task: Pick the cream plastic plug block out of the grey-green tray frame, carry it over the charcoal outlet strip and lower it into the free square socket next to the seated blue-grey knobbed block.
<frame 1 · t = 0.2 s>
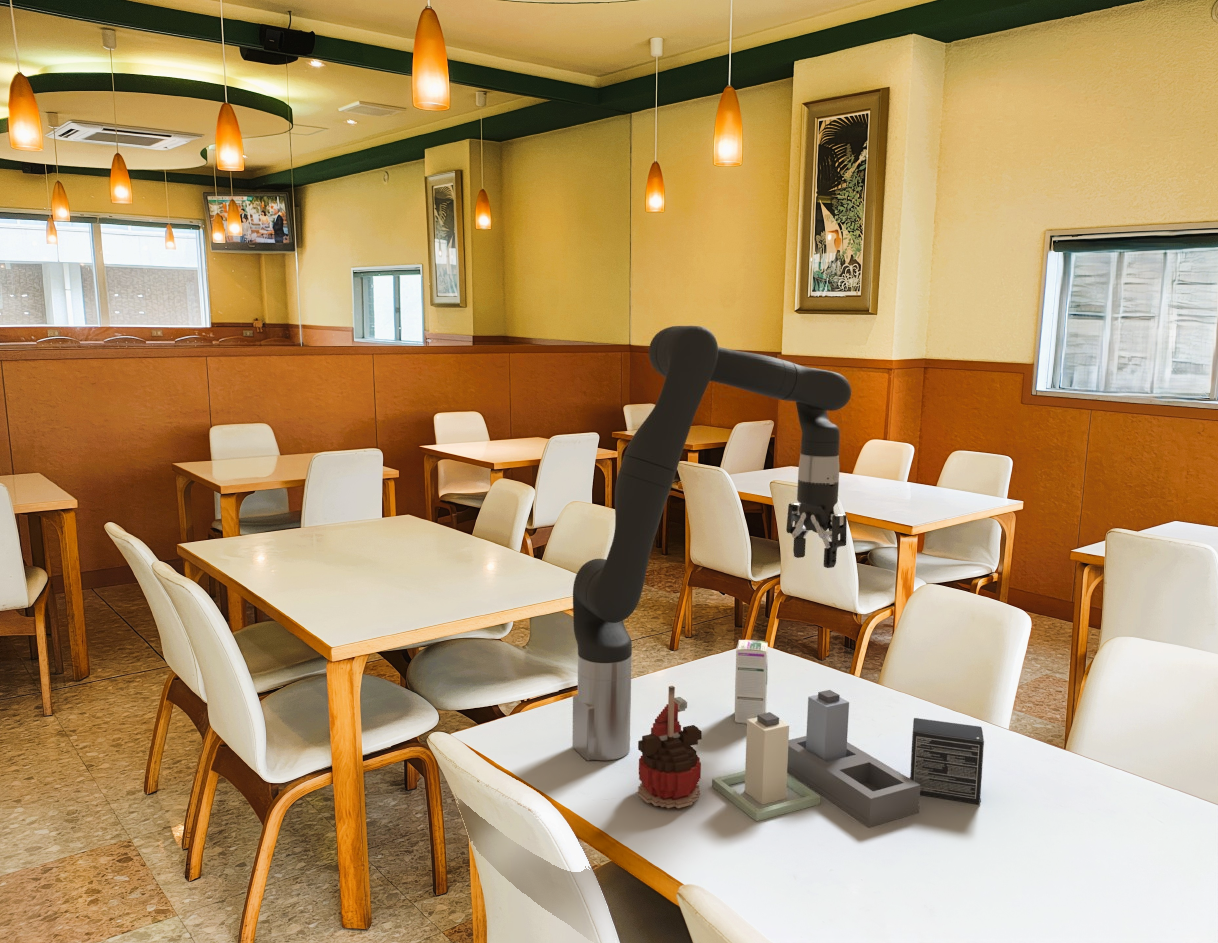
hand: (813, 562, 173), 29 cm above the table, fingers open, 8 cm apart
syrup box: (750, 719, 171), on the table
plug: (766, 755, 141), in the tray frame
tray frame: (765, 794, 142), on the table
blue-grey knobbed block: (825, 768, 149), resting on outlet strip
cake: (668, 797, 141), on the table
small box: (943, 791, 145), on the table
outlet strip: (846, 788, 145), on the table
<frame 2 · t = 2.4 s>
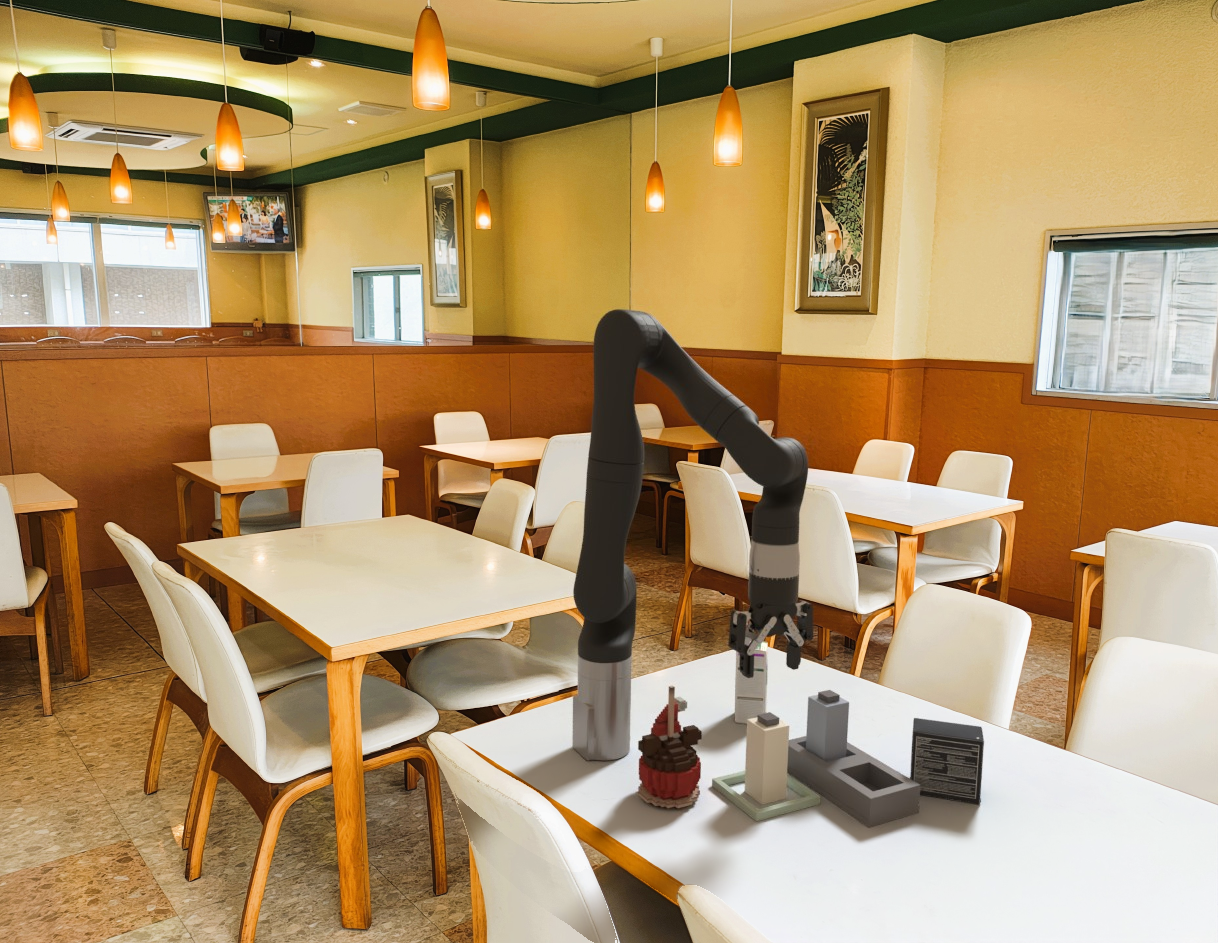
hand: (770, 672, 139), 20 cm above the table, fingers open, 8 cm apart
nothing on the table moved.
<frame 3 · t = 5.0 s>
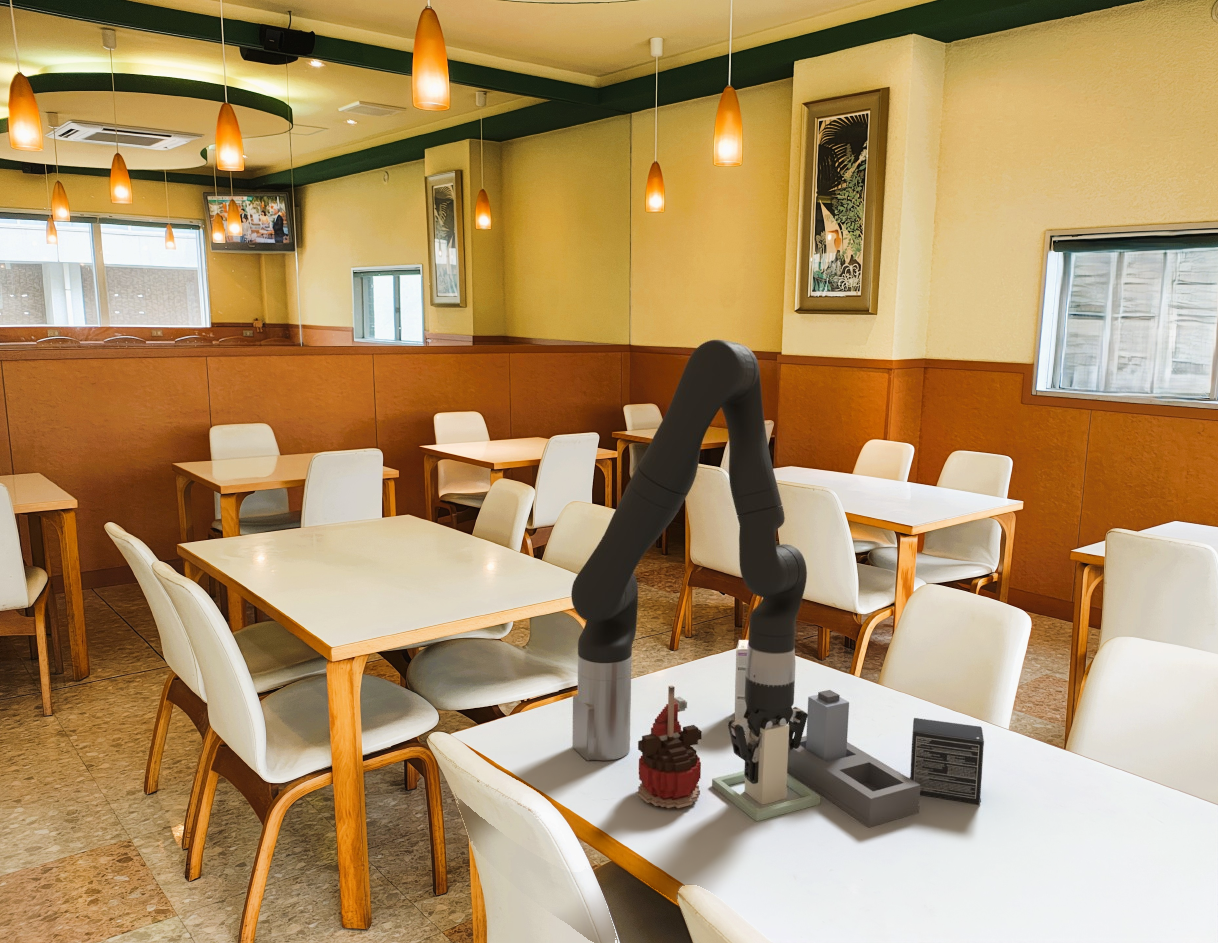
hand: (765, 777, 142), 3 cm above the table, fingers closed on plug, 4 cm apart
plug: (766, 755, 141), in the tray frame, touching gripper
everything else where it was.
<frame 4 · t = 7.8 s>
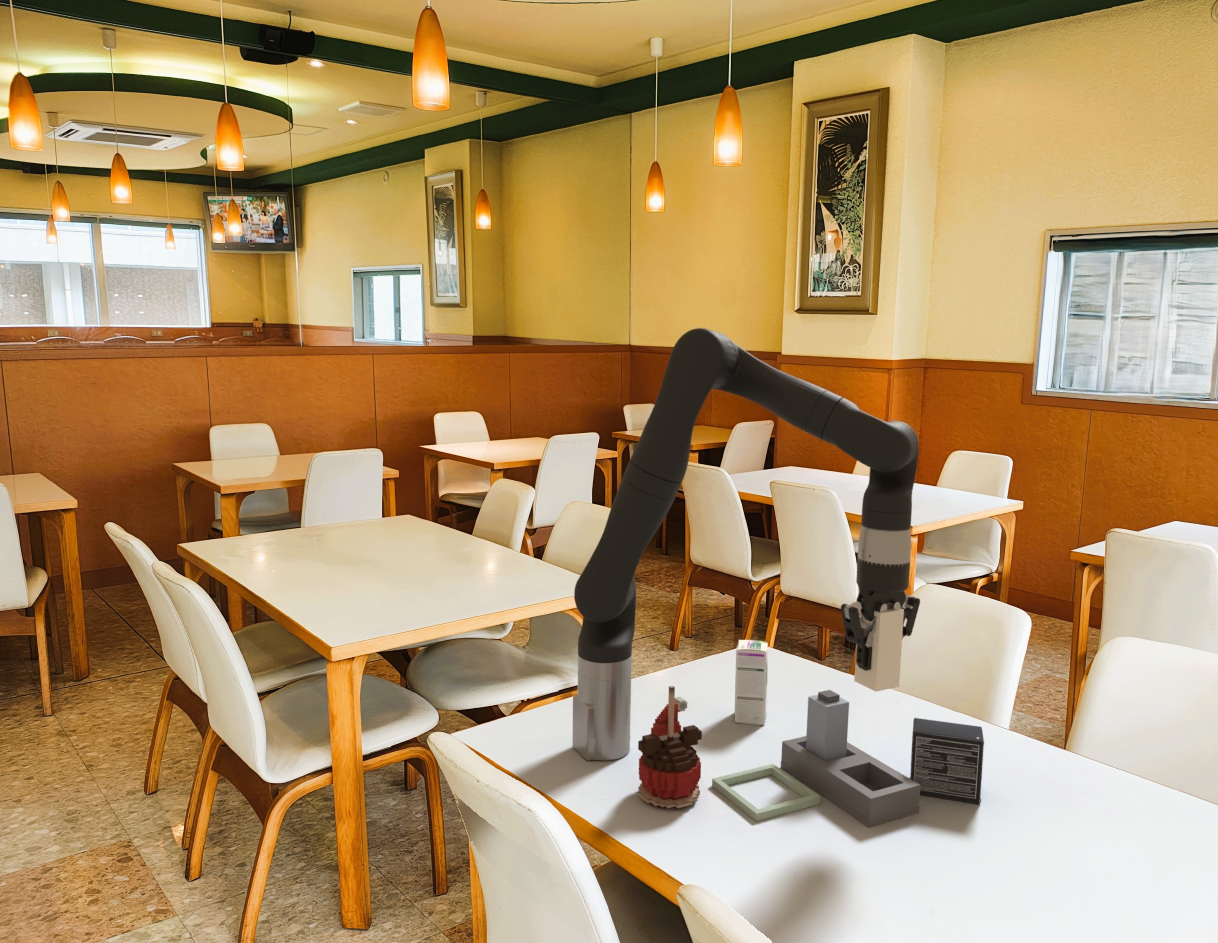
hand: (877, 665, 137), 22 cm above the table, fingers closed on plug, 4 cm apart
plug: (878, 642, 136), point 26 cm above the table, touching gripper
everything else where it was.
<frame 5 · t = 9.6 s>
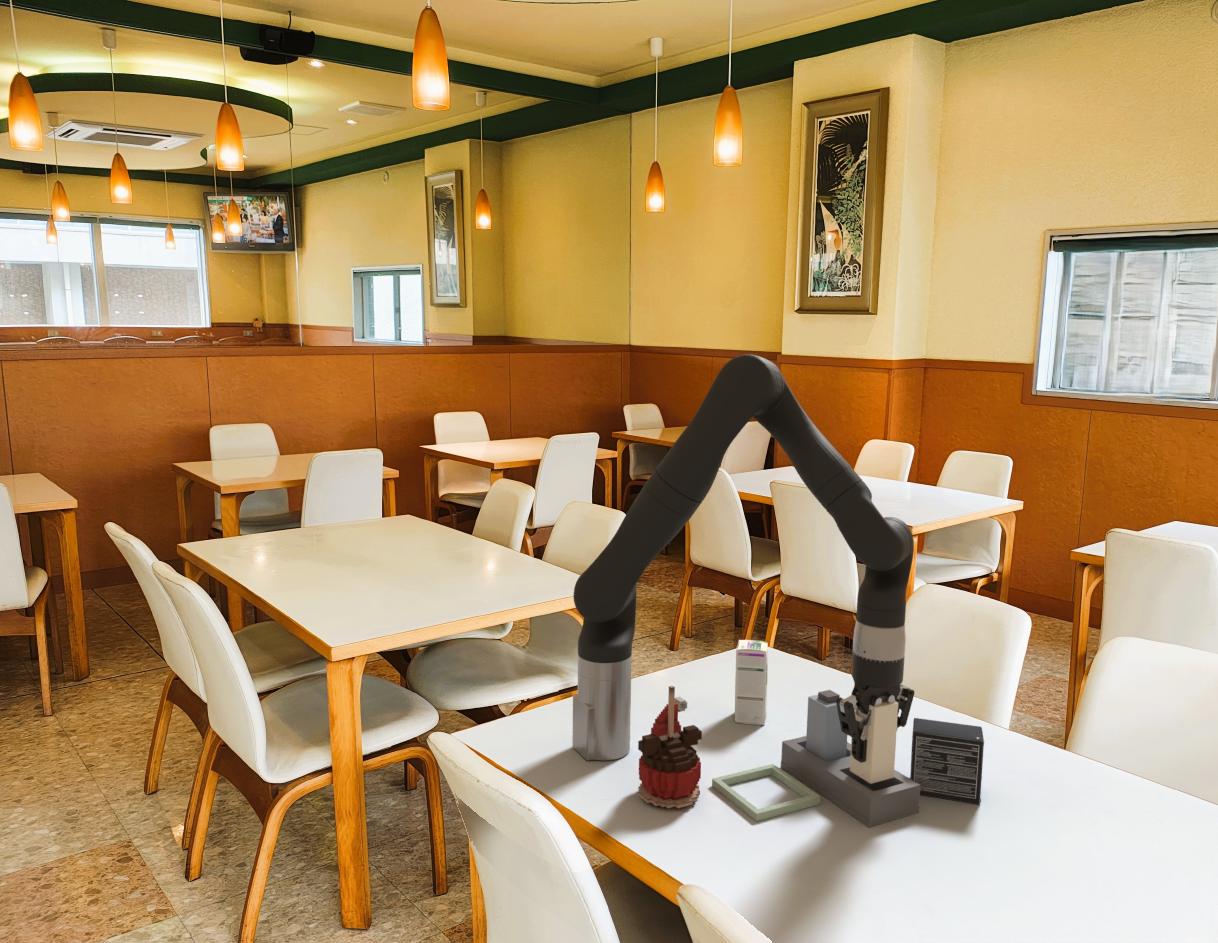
hand: (872, 756, 139), 8 cm above the table, fingers closed on plug, 4 cm apart
plug: (873, 734, 138), point 11 cm above the table, touching gripper
everything else where it was.
when the fingers open (5 cm above the table, at t = 10.8 s): plug drops 1 cm, resting on outlet strip.
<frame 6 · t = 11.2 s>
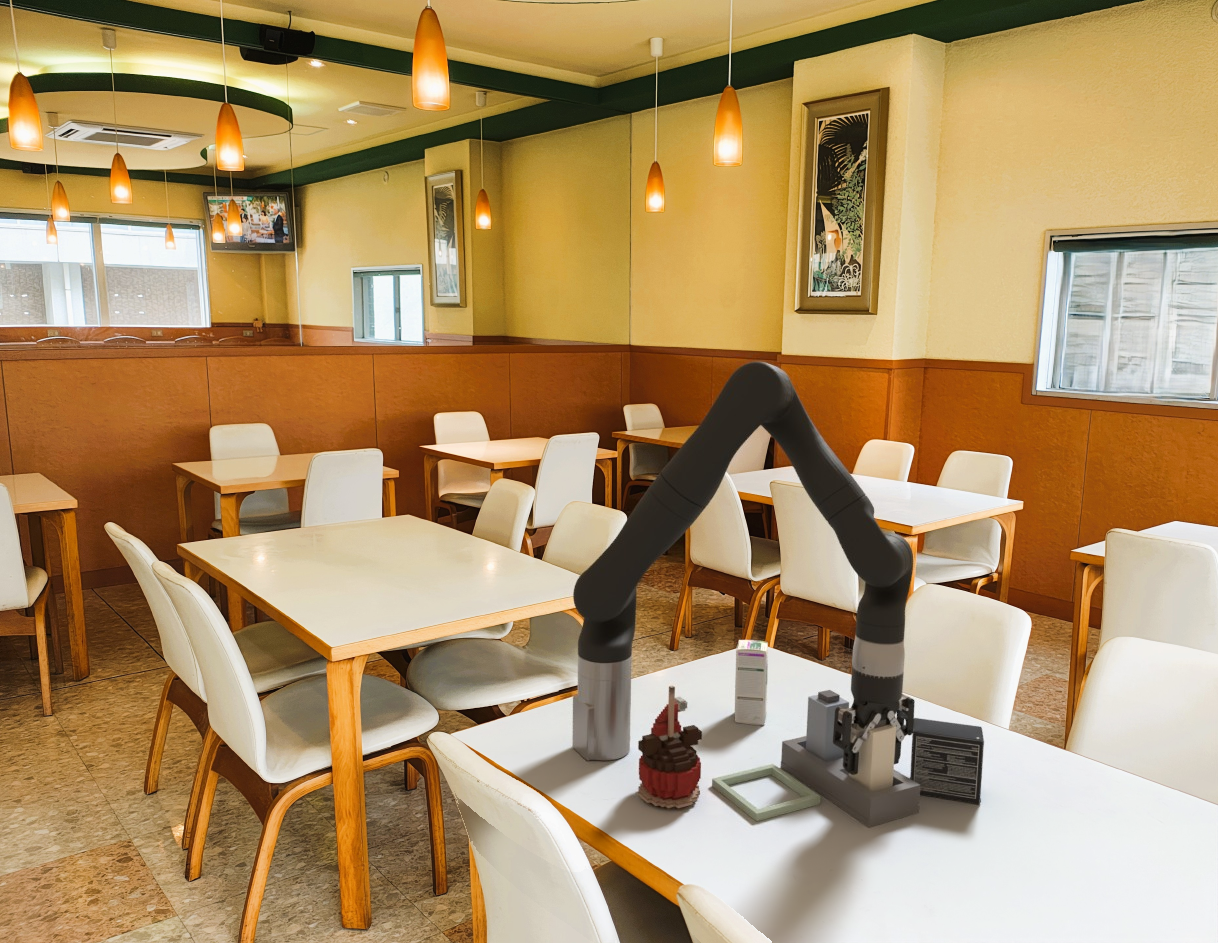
hand: (871, 767, 139), 6 cm above the table, fingers open, 8 cm apart
plug: (871, 758, 139), in the outlet strip, point 8 cm above the table
everything else where it was.
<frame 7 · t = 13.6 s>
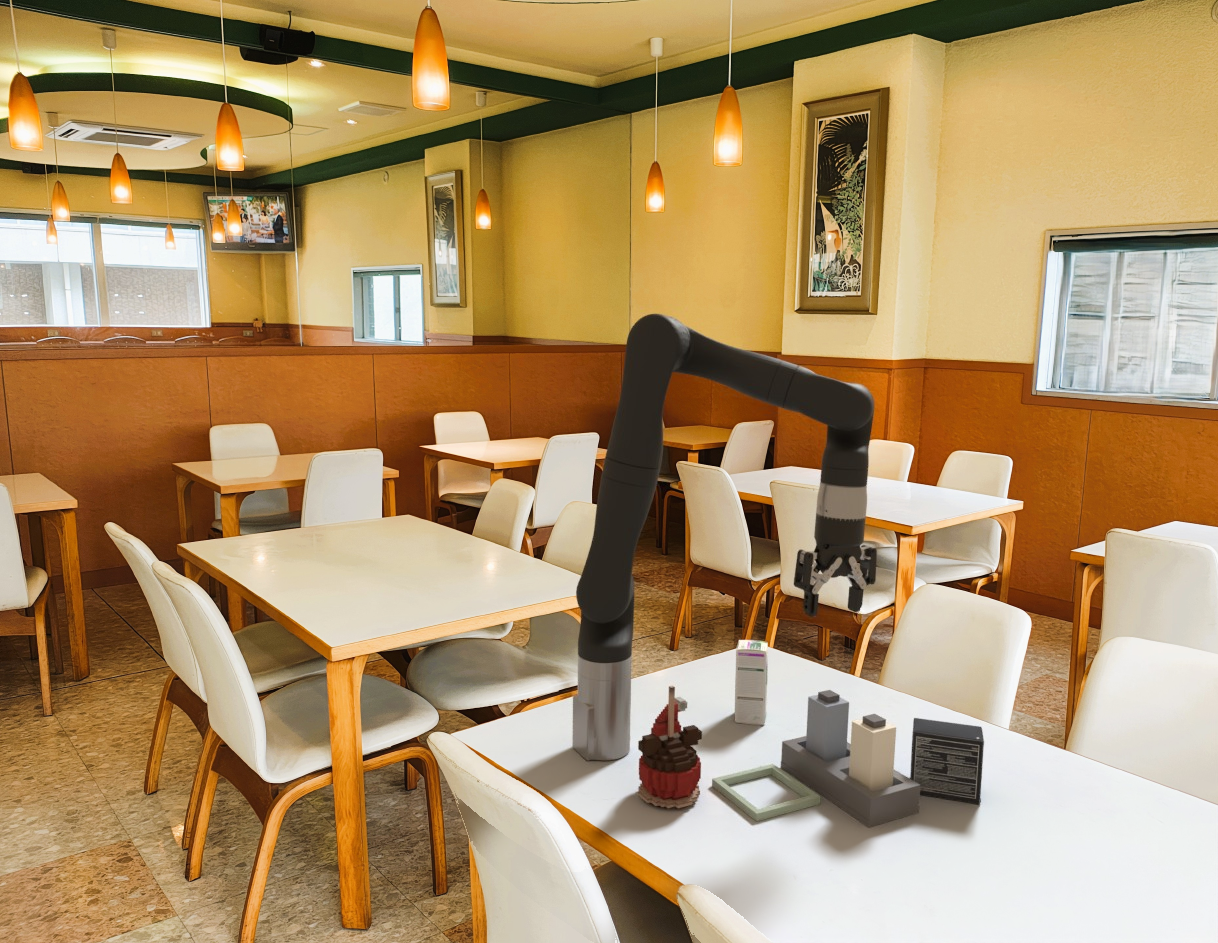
hand: (832, 613, 143), 28 cm above the table, fingers open, 8 cm apart
nothing on the table moved.
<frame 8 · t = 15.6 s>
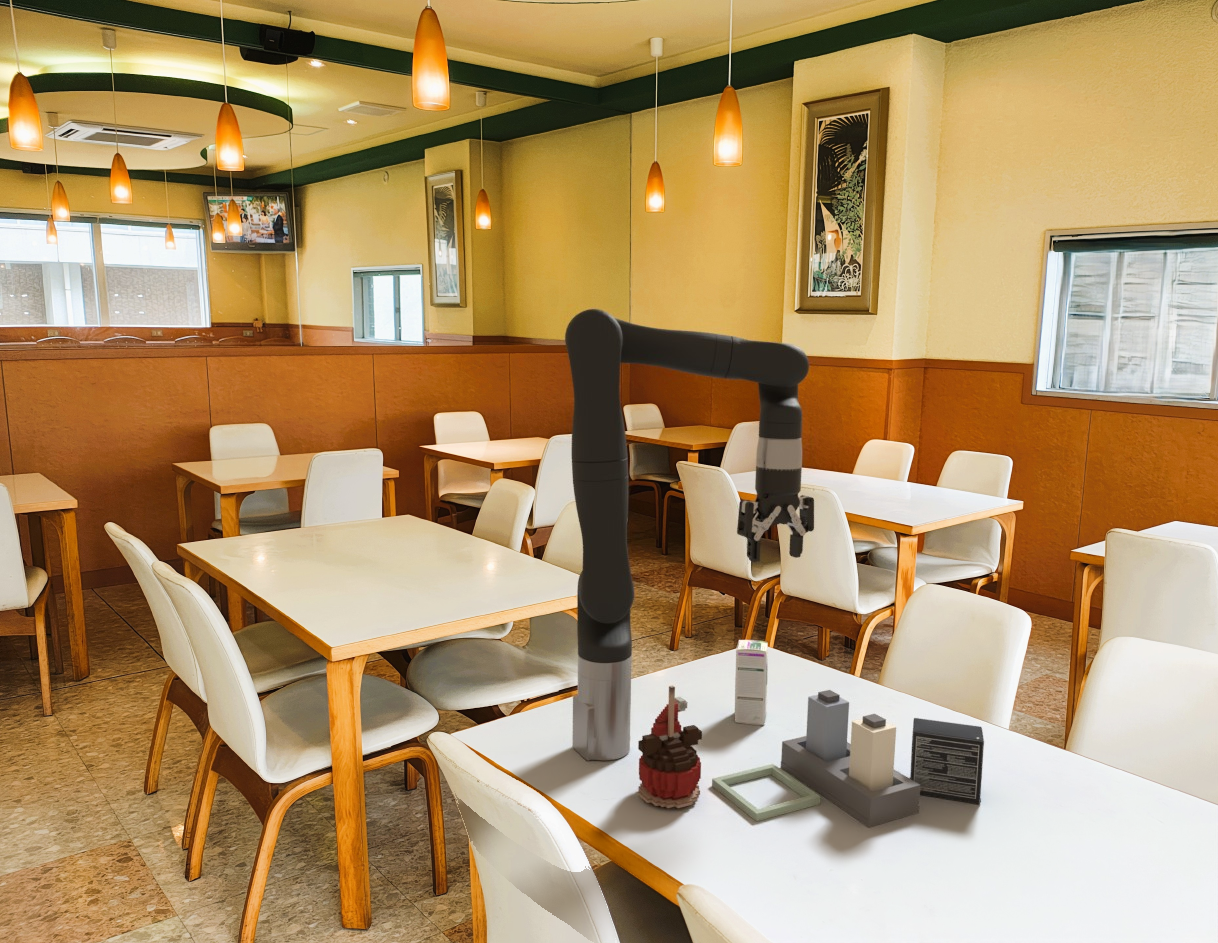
hand: (774, 558, 153), 34 cm above the table, fingers open, 8 cm apart
nothing on the table moved.
at the end: plug 0.1 cm from the target spot on the outlet strip, point 7.5 cm above the outlet strip's base; plug tilted 0°; the gripper is holding nothing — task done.
